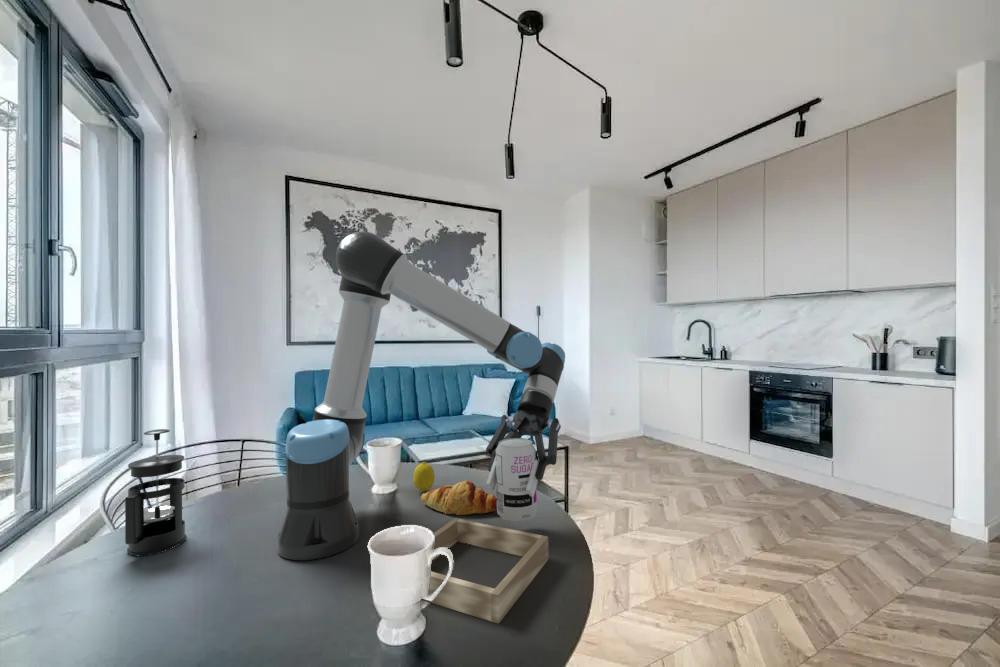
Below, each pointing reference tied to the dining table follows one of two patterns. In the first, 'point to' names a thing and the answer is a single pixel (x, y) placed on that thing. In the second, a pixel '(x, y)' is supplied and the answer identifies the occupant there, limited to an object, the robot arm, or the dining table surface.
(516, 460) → the supplement can
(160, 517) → the french press
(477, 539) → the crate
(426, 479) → the lemon
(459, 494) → the croissant
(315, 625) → the dining table surface
